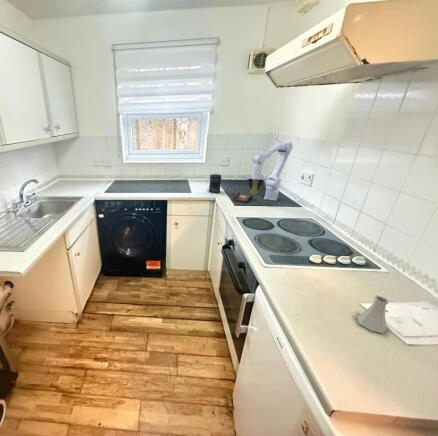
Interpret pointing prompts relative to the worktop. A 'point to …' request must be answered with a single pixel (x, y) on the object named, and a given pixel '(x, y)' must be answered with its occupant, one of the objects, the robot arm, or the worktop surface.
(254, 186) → the olive door knob
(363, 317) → the flask
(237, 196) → the shelf
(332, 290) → the worktop surface
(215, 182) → the storage jar
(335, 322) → the worktop surface
